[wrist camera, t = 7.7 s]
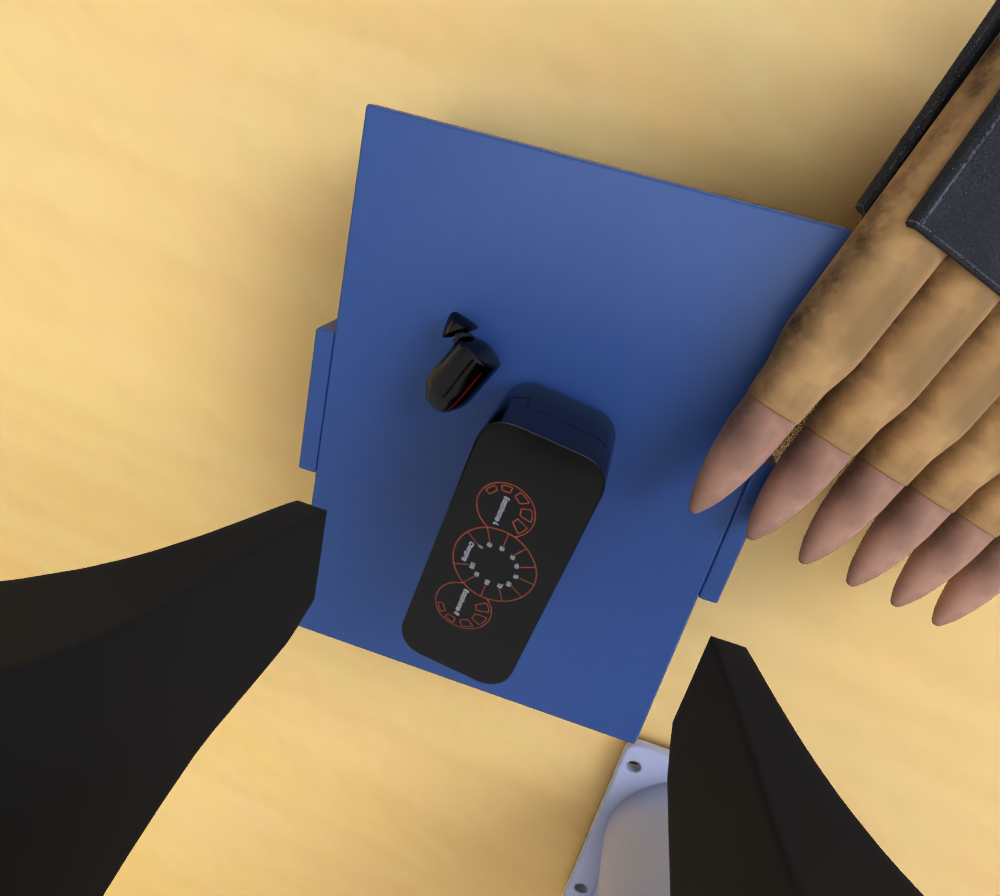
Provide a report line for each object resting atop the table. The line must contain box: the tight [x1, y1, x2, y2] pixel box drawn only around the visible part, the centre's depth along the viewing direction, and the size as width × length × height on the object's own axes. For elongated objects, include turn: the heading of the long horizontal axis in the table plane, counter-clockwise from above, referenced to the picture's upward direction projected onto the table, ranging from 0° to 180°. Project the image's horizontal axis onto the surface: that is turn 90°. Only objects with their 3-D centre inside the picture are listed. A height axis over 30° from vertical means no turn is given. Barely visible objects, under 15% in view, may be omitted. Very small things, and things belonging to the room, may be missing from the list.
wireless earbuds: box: [401, 312, 616, 684], centre depth 17 cm, size 5×7×3 cm, turn 160°
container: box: [298, 104, 853, 744], centre depth 20 cm, size 15×12×5 cm
